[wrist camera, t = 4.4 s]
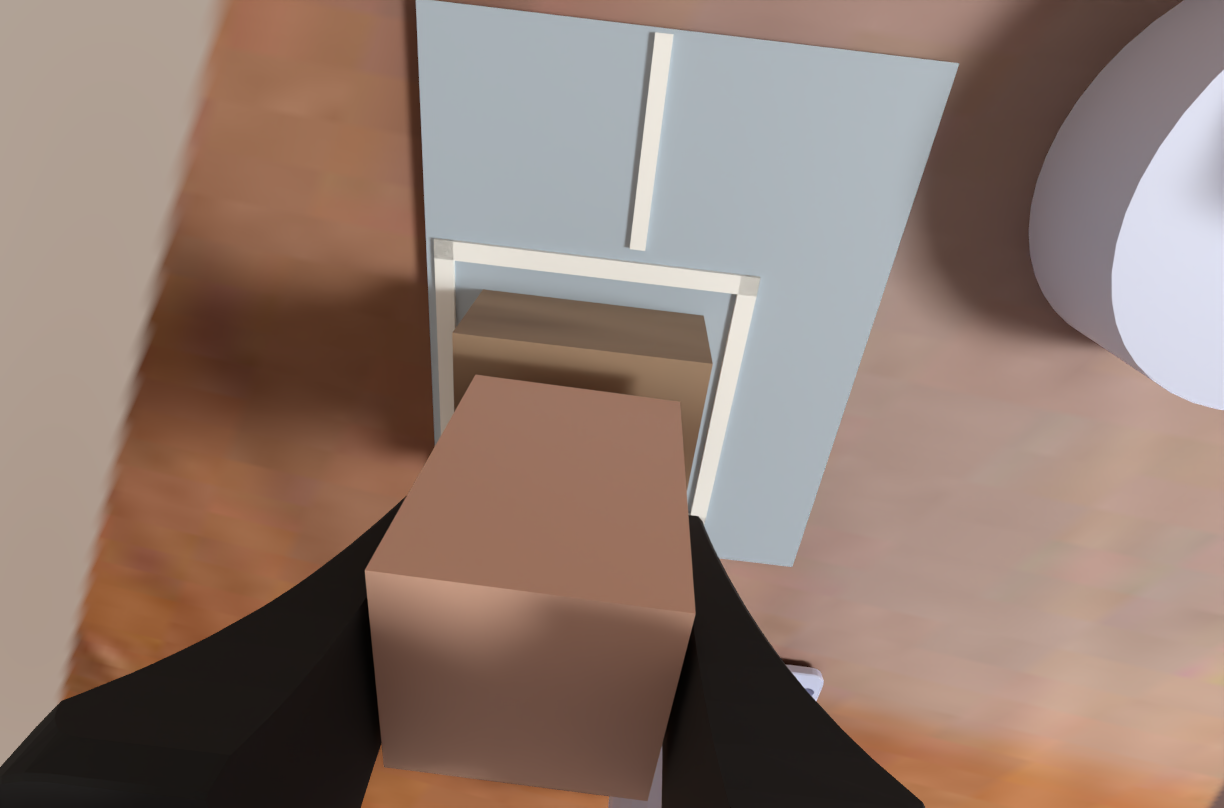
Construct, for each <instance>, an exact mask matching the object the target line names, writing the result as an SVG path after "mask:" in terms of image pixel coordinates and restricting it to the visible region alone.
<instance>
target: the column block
mask: <svg viewBox="0 0 1224 808" xmlns="http://www.w3.org/2000/svg"><path fill="white" fill-rule="evenodd" d="M365 579H366V589H367V599H368V609H369V619H370V630H371V640H372V650H373V660H374V670H375V681H376V691H377V701H378V711H379V721H380V732H381V742H382V752H383V762H384V767H388V768H396V769H403V770H411V771H419V772H426V773H434V774H442V775H449V776H457V777H465V778H473V779H480V780H488V781H496V782H503V783H511V784H519V785H527V786H534V787H542V788H550V789H557V790H565V791H573V792H581V793H588V794H596V795H604V796H611V797H619V798H627V799H635V800H642V801H648V797H649V793H650V789H651V786H652V782H653V778H654V774H655V770H656V766H657V762H658V758H659V754H660V750H661V747H662V743H663V739H664V735H665V731H666V727H667V723H668V719H669V715H670V712H671V708H672V704H673V700H674V696H675V692H676V688H677V684H678V680H679V677H680V673H681V669H682V665H683V661H684V657H685V653H686V649H687V645H688V641H689V638H690V634H691V630H692V626H693V622H694V618H695V614H696V612H695V598H694V585H693V571H692V557H691V544H690V530H689V516H688V503H687V489H686V475H685V462H684V448H683V434H682V421H681V407H680V402H678V401H671V400H663V399H656V398H648V397H641V396H633V395H626V394H618V393H611V392H603V391H596V390H588V389H580V388H573V387H565V386H558V385H550V384H543V383H535V382H528V381H520V380H513V379H505V378H498V377H490V376H483V375H475V376H474V378H473V380H472V382H471V383H470V385H469V387H468V389H467V390H466V392H465V394H464V396H463V398H462V399H461V401H460V403H459V405H458V406H457V408H456V410H455V412H454V413H453V415H452V417H451V419H450V421H449V422H448V424H447V426H446V428H445V429H444V431H443V433H442V435H441V436H440V438H439V440H438V442H437V444H436V445H435V447H434V449H433V451H432V452H431V454H430V456H429V458H428V459H427V461H426V463H425V465H424V466H423V468H422V470H421V472H420V474H419V475H418V477H417V479H416V481H415V482H414V484H413V486H412V488H411V489H410V491H409V493H408V495H407V497H406V498H405V500H404V502H403V504H402V505H401V507H400V509H399V511H398V512H397V514H396V516H395V518H394V519H393V521H392V523H391V525H390V527H389V528H388V530H387V532H386V534H385V535H384V537H383V539H382V541H381V542H380V544H379V546H378V548H377V550H376V551H375V553H374V555H373V557H372V558H371V560H370V562H369V564H368V565H367V567H366V569H365Z"/></svg>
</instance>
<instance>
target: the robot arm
mask: <svg viewBox="0 0 1224 808" xmlns="http://www.w3.org/2000/svg"><path fill="white" fill-rule="evenodd" d="M406 497H407V496H406ZM406 497H405V498H406ZM405 498H404V499H402V500H401V501H400V502H399V503H398V504H397V505H396V506H395V507H394V508H393V509H391V510H390V511H389V512H388V513H387V514H386V515H385V516H384V517H382V518H381V519H380V520H379V521H378V522H377V523H376V524H374V525H373V526H372V527H371V528H370V529H368V530H367V531H366V532H365V533H364V534H362V535H361V536H360V537H359V538H358V539H357V540H355V541H354V542H353V543H352V544H351V545H349V546H348V547H347V548H346V549H344V550H343V551H342V552H340V553H339V554H338V555H337V556H335V557H334V558H333V559H331V560H330V561H329V562H327V563H326V564H325V565H323V566H322V567H321V568H319V569H318V570H317V571H316V572H314V573H313V574H311V575H310V576H309V577H307V578H306V579H304V580H303V581H302V582H300V583H299V584H297V585H296V586H294V587H293V588H291V589H290V590H288V591H287V592H285V593H284V594H282V595H281V596H279V597H278V598H276V599H274V600H273V601H271V602H270V603H268V604H267V605H265V606H263V607H262V608H260V609H258V610H256V611H255V612H253V613H251V614H249V615H247V616H246V617H244V618H242V619H240V620H238V621H237V622H235V623H233V624H231V625H229V626H228V627H226V628H224V629H222V630H221V631H219V632H217V633H215V634H213V635H211V636H210V637H208V638H206V639H204V640H202V641H200V642H198V643H196V644H194V645H192V646H190V647H188V648H185V649H183V650H181V651H179V652H177V653H175V654H173V655H171V656H169V657H166V658H164V659H162V660H160V661H158V662H156V663H154V664H151V665H149V666H147V667H145V668H142V669H140V670H138V671H135V672H133V673H131V674H128V675H126V676H123V677H121V678H118V679H116V680H113V681H111V682H108V683H106V684H103V685H101V686H99V687H96V688H94V689H91V690H89V691H86V692H84V693H81V694H79V695H76V696H73V697H71V698H68V699H65V700H63V701H61V702H60V703H59V704H58V705H57V706H56V707H55V708H54V709H53V710H52V711H51V712H50V713H49V714H48V715H47V716H46V717H45V718H44V720H43V721H42V722H41V723H40V724H39V725H38V726H37V727H36V728H35V729H34V730H33V731H32V732H31V733H30V735H29V736H28V737H27V738H26V739H25V740H24V741H23V742H22V744H21V745H20V746H19V747H18V748H17V749H16V750H15V751H14V752H13V754H12V755H11V756H10V757H9V758H8V759H7V760H6V761H5V762H4V764H3V765H2V766H1V767H0V808H361V805H362V802H363V798H364V795H365V792H366V789H367V786H368V782H369V779H370V776H371V773H372V770H373V767H374V764H375V761H376V758H377V755H378V752H379V749H380V746H381V743H382V742H381V732H380V721H379V711H378V701H377V691H376V681H375V670H374V660H373V650H372V640H371V630H370V619H369V609H368V599H367V589H366V579H365V569H366V567H367V565H368V564H369V562H370V560H371V558H372V557H373V555H374V553H375V551H376V550H377V548H378V546H379V544H380V542H381V541H382V539H383V537H384V535H385V534H386V532H387V530H388V528H389V527H390V525H391V523H392V521H393V519H394V518H395V516H396V514H397V512H398V511H399V509H400V507H401V505H402V504H403V502H404V500H405ZM688 516H689V530H690V544H691V557H692V571H693V585H694V598H695V612H696V614H695V618H694V622H693V626H692V630H691V634H690V638H689V641H688V645H687V649H686V653H685V657H684V661H683V665H682V669H681V673H680V677H679V680H678V684H677V688H676V692H675V696H674V700H673V704H672V708H671V712H670V715H669V719H668V723H667V727H666V731H665V735H664V739H663V743H662V747H661V750H660V754H659V758H658V762H657V766H656V770H655V774H654V778H653V782H652V786H651V789H650V793H649V797H648V801H642V800H635V799H627V798H619V797H611V796H609V808H925V806H924V804H923V802H922V801H920V800H919V799H918V798H917V797H916V796H915V795H914V794H912V793H911V792H910V791H909V790H908V789H907V788H905V787H904V786H903V785H902V784H901V783H900V782H899V781H897V780H896V779H895V778H894V777H893V776H892V775H890V774H889V773H888V772H887V771H886V770H885V769H884V768H882V767H881V766H880V765H879V764H878V763H877V762H875V761H874V760H873V759H872V758H871V757H870V756H869V755H868V754H867V753H866V752H865V751H864V750H863V749H862V748H861V747H860V746H859V745H858V744H857V743H855V742H854V741H853V740H852V739H851V738H850V737H849V736H848V735H847V734H846V733H845V732H844V731H843V730H842V729H841V728H840V727H839V726H838V725H837V724H836V722H835V721H834V720H833V719H832V718H831V717H830V716H829V715H828V714H827V713H826V711H825V710H824V709H823V708H822V707H821V706H820V705H819V704H818V703H817V702H816V701H817V698H818V696H819V694H820V691H821V689H822V686H823V682H824V681H823V678H822V674H821V672H820V671H819V670H817V669H815V668H811V667H803V666H795V665H786V664H785V663H784V662H783V661H782V659H781V658H780V657H779V655H778V654H777V653H776V651H775V650H774V649H773V647H772V646H771V644H770V643H769V642H768V640H767V639H766V637H765V636H764V634H763V633H762V631H761V630H760V628H759V627H758V625H757V624H756V622H755V621H754V619H753V618H752V616H751V614H750V613H749V611H748V610H747V608H746V606H745V605H744V603H743V601H742V600H741V598H740V596H739V595H738V593H737V591H736V589H735V587H734V586H733V584H732V582H731V580H730V579H729V577H728V575H727V573H726V571H725V569H724V567H723V565H722V564H721V561H720V559H719V557H718V555H717V553H716V551H715V549H714V547H713V545H712V543H711V541H710V538H709V536H708V534H707V531H706V529H705V527H704V524H703V521H702V520H701V519H700V518H699V516H693V515H688Z"/></svg>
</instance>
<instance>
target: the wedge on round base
mask: <svg viewBox="0 0 1224 808" xmlns="http://www.w3.org/2000/svg"><path fill="white" fill-rule="evenodd" d="M1029 247H1030V257H1031V261H1032V266H1033V270H1034V274H1035V277H1036V279H1037V282H1038V284H1039V286H1040V288H1041V291H1042V293H1043V295H1044V296H1045V298H1046V299H1047V301H1048V302H1049V304H1050V305H1051V307H1052V308H1053V309H1054V311H1055V312H1056V313H1057V314H1058V315H1059V316H1060V317H1061V318H1062V319H1063V320H1064V321H1065V322H1066V323H1067V324H1069V325H1070V326H1072V327H1073V328H1075V329H1076V330H1078V331H1079V332H1081V333H1082V334H1084V335H1085V336H1087V337H1088V338H1090V339H1091V340H1093V341H1094V342H1096V343H1097V344H1099V345H1100V346H1102V347H1103V348H1105V349H1106V350H1108V351H1109V352H1111V353H1112V354H1114V355H1115V356H1117V357H1118V358H1120V359H1121V360H1123V361H1124V362H1126V363H1127V364H1129V365H1130V366H1132V367H1133V368H1135V369H1136V370H1138V371H1139V372H1141V373H1142V374H1144V375H1145V376H1147V377H1148V378H1150V379H1151V380H1153V381H1154V382H1156V383H1157V384H1159V385H1160V386H1162V387H1163V388H1165V389H1166V390H1168V391H1169V392H1171V393H1173V394H1175V395H1177V396H1179V397H1181V398H1184V399H1186V400H1188V401H1190V402H1193V403H1196V404H1200V405H1203V406H1207V407H1211V408H1214V409H1219V410H1224V0H1183V1H1182V2H1181V3H1179V4H1178V5H1176V6H1175V7H1174V8H1172V9H1171V10H1169V11H1168V12H1167V13H1165V14H1164V15H1162V16H1161V17H1159V18H1158V19H1157V20H1155V21H1154V22H1152V23H1151V24H1150V25H1149V26H1148V27H1147V28H1145V29H1144V30H1143V31H1142V32H1141V33H1140V34H1139V35H1137V36H1136V37H1135V38H1134V39H1133V40H1132V41H1130V42H1129V43H1128V44H1127V45H1126V46H1125V47H1124V48H1123V49H1122V50H1121V51H1120V52H1119V53H1118V54H1117V55H1116V56H1115V57H1114V58H1113V59H1112V60H1111V61H1110V62H1109V63H1108V64H1107V65H1106V66H1105V67H1104V68H1103V69H1102V71H1101V72H1100V73H1099V74H1098V75H1097V76H1096V78H1095V79H1094V80H1093V81H1092V83H1091V84H1090V85H1089V87H1088V88H1087V89H1086V90H1085V92H1084V93H1083V94H1082V95H1081V97H1080V98H1079V99H1078V101H1077V102H1076V104H1075V105H1074V107H1073V108H1072V110H1071V111H1070V113H1069V115H1068V116H1067V118H1066V119H1065V121H1064V122H1063V124H1062V126H1061V127H1060V129H1059V131H1058V133H1057V135H1056V137H1055V139H1054V141H1053V143H1052V145H1051V147H1050V149H1049V151H1048V153H1047V155H1046V158H1045V160H1044V163H1043V166H1042V169H1041V171H1040V174H1039V177H1038V180H1037V182H1036V187H1035V191H1034V195H1033V200H1032V204H1031V210H1030V221H1029Z"/></svg>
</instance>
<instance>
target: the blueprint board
mask: <svg viewBox="0 0 1224 808" xmlns="http://www.w3.org/2000/svg"><path fill="white" fill-rule="evenodd" d="M416 16H417V40H418V63H419V87H420V110H421V134H422V157H423V181H424V204H425V228H426V251H427V275H428V298H429V322H430V345H431V369H432V392H433V416H434V439H435V445H436V444H437V442H438V440H439V438H440V436H441V435H442V433H443V431H444V429H445V428H446V426H447V424H448V422H449V421H450V419H451V417H452V415H453V413H454V388H453V345H452V333H453V331H454V330H455V328H456V327H457V325H458V324H459V323H460V321H461V320H462V318H463V317H464V316H465V314H466V313H467V311H468V310H469V308H470V307H471V306H472V304H473V303H474V301H475V300H476V299H477V297H478V296H479V294H480V293H481V291H482V290H483V289H485V290H493V291H501V292H510V293H518V294H527V295H535V296H543V297H552V298H560V299H569V300H577V301H585V302H594V303H602V304H611V305H619V306H627V307H636V308H644V309H653V310H661V311H669V312H678V313H686V314H695V315H703V316H704V320H705V325H706V330H707V336H708V341H709V346H710V352H711V357H712V362H713V365H712V370H711V375H710V380H709V385H708V390H707V395H706V400H705V405H704V410H703V415H702V420H701V424H700V429H699V434H698V439H697V444H696V449H695V454H694V459H693V464H692V469H691V474H690V478H689V483H688V488H687V503H688V515H693V516H699V518H700V519H701V520H702V521H703V524H704V527H705V529H706V531H707V534H708V536H709V538H710V541H711V543H712V545H713V547H714V549H715V551H716V553H717V555H718V557H719V558H721V559H730V560H738V561H747V562H755V563H764V564H772V565H780V566H789V567H792V566H793V563H794V560H795V557H796V554H797V551H798V548H799V545H800V542H801V539H802V536H803V533H804V530H805V527H806V524H807V521H808V518H809V515H810V512H811V509H812V506H813V503H814V500H815V497H816V494H817V491H818V488H819V485H820V482H821V479H822V476H823V473H824V470H825V467H826V464H827V461H828V458H829V455H830V452H831V449H832V446H833V443H834V440H835V437H836V434H837V431H838V428H839V425H840V422H841V419H842V416H843V413H844V410H845V407H846V404H847V401H848V397H849V394H850V391H851V388H852V385H853V382H854V379H855V376H856V373H857V370H858V367H859V364H860V361H861V358H862V355H863V352H864V349H865V346H866V343H867V340H868V337H869V334H870V331H871V328H872V325H873V322H874V319H875V316H876V313H877V310H878V307H879V304H880V301H881V298H882V295H883V292H884V289H885V286H886V283H887V280H888V277H889V274H890V271H891V268H892V265H893V262H894V259H895V256H896V253H897V250H898V247H899V244H900V241H901V238H902V235H903V232H904V229H905V226H906V223H907V220H908V217H909V214H910V211H911V208H912V205H913V202H914V199H915V196H916V193H917V190H918V187H919V184H920V181H921V178H922V175H923V172H924V169H925V166H926V162H927V159H928V156H929V153H930V150H931V147H932V144H933V141H934V138H935V135H936V132H937V129H938V126H939V123H940V120H941V117H942V114H943V111H944V108H945V105H946V102H947V99H948V96H949V93H950V90H951V87H952V84H953V81H954V78H955V75H956V72H957V69H958V66H959V63H952V62H944V61H935V60H927V59H919V58H910V57H902V56H894V55H885V54H877V53H868V52H860V51H852V50H843V49H835V48H827V47H818V46H810V45H802V44H793V43H785V42H777V41H768V40H760V39H751V38H743V37H735V36H726V35H718V34H710V33H701V32H693V31H685V30H676V29H668V28H660V27H651V26H643V25H634V24H626V23H618V22H609V21H601V20H593V19H584V18H576V17H568V16H559V15H551V14H543V13H534V12H526V11H517V10H509V9H501V8H492V7H484V6H476V5H467V4H459V3H451V2H442V1H434V0H416Z"/></svg>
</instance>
